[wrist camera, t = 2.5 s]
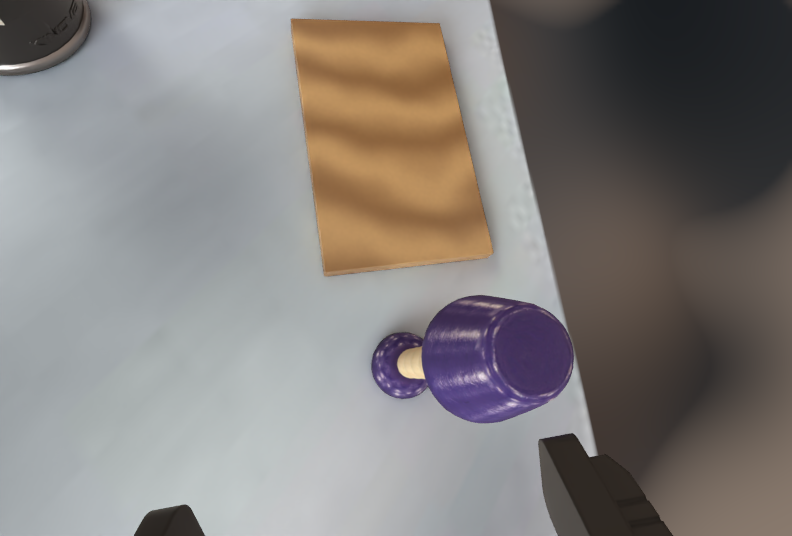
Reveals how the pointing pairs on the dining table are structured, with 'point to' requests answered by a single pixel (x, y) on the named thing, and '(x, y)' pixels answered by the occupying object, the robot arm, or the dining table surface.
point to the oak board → (386, 147)
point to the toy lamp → (480, 359)
